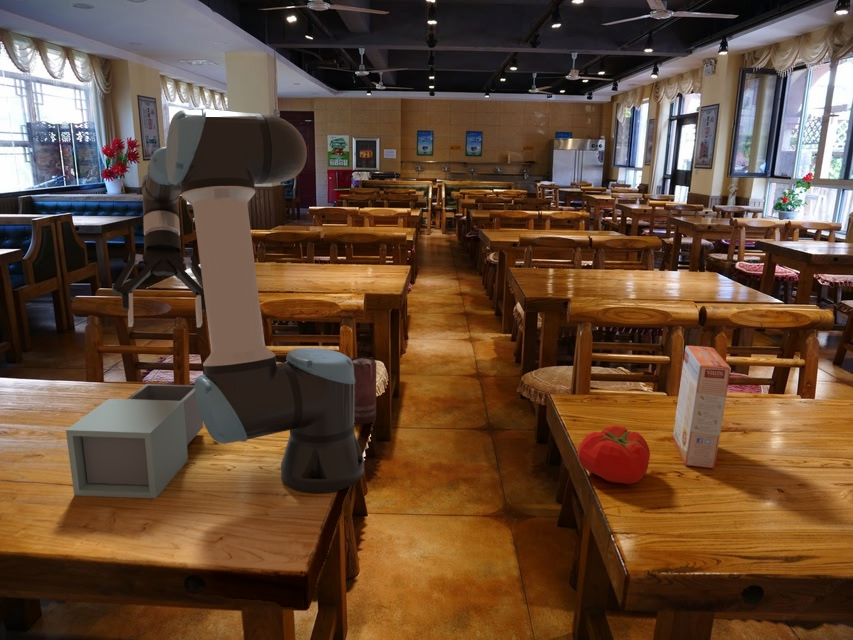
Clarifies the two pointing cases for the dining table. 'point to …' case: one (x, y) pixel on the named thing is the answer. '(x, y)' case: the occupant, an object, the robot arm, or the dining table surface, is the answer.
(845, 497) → the dining table surface
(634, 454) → the tomato
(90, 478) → the tray
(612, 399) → the dining table surface
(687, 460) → the cracker box
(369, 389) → the can
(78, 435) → the sleeve
